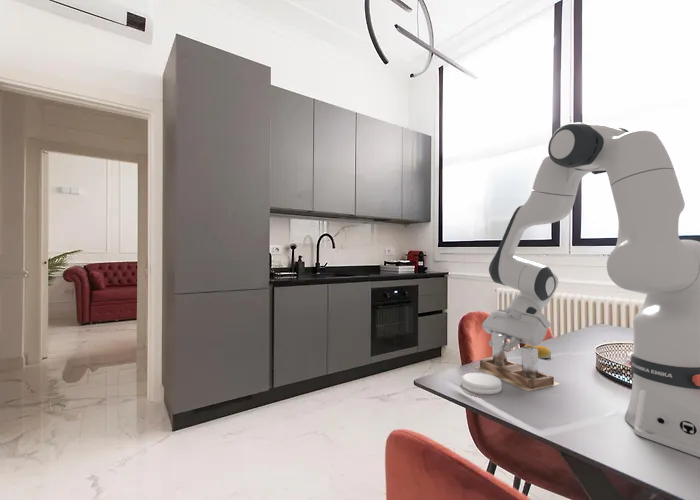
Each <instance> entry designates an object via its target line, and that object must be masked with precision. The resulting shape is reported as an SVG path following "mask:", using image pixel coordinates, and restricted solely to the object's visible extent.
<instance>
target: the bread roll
mask: <svg viewBox="0 0 700 500" xmlns="http://www.w3.org/2000/svg"><path fill="white" fill-rule="evenodd" d="M523 347H533V346H530V345H527V344H524V346H523ZM533 348H537V349H538V359H540V360H541V359H545V358H547V359H550V358H551V357H552V352H551V350H550V348H548V347H545V346H543V345H538V346H535V347H533Z"/></svg>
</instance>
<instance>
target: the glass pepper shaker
mask: <svg viewBox="0 0 700 500" xmlns="http://www.w3.org/2000/svg"><path fill="white" fill-rule="evenodd" d="M507 341H508V339H507V335H506V334H503V333H493V334H492V342H493V347H492V358H493V364H494V365H496V366H507V360H508V352H506V351H504V350H503V349H502V346H503V345H504V344H507V343H508V342H507Z"/></svg>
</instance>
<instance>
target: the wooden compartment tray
mask: <svg viewBox="0 0 700 500" xmlns="http://www.w3.org/2000/svg"><path fill="white" fill-rule="evenodd" d="M473 368H474V369H476V370H478V371H481V372H482V373H484V374H489V375H493V376H495V377H497V378H499V379H500V380H501V381H504V382H506V383H508V384H510V385H513V386H515V387H517V388H520V389H521V390H524V391H527V392H529V391H533V390H534V391H535V390H539V389H544V388H548V387H555V386H558V385H561V383H559V382H557V381H554V379H555V377H554V376H552V375H550V374H546V373H544V372H540V371H539V370H538V378H536V379H529V378H526V377H524V376H522V364H519V363H516V362H514V361H511V360H509V359H507V366H496V365H494V364H493V357H492V358H488V359H480V360H479V366H473Z"/></svg>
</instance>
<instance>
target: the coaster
mask: <svg viewBox="0 0 700 500" xmlns="http://www.w3.org/2000/svg"><path fill="white" fill-rule="evenodd" d="M502 384H503V382H502V380H501V379H499V378H497V377H495V376H493V375H490V374H488V373H485V372H469V373H465V374H463V375H462V376H461V386H462V387H461V390H462V391H463V392H464V394H466V395H468V396H470V397H473V396H474V398H477V397H478V399H480V397H479V396H478V395H475V394H479V395H496V394H498V393H500V392H501V391H502V390H503V387H502Z"/></svg>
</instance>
